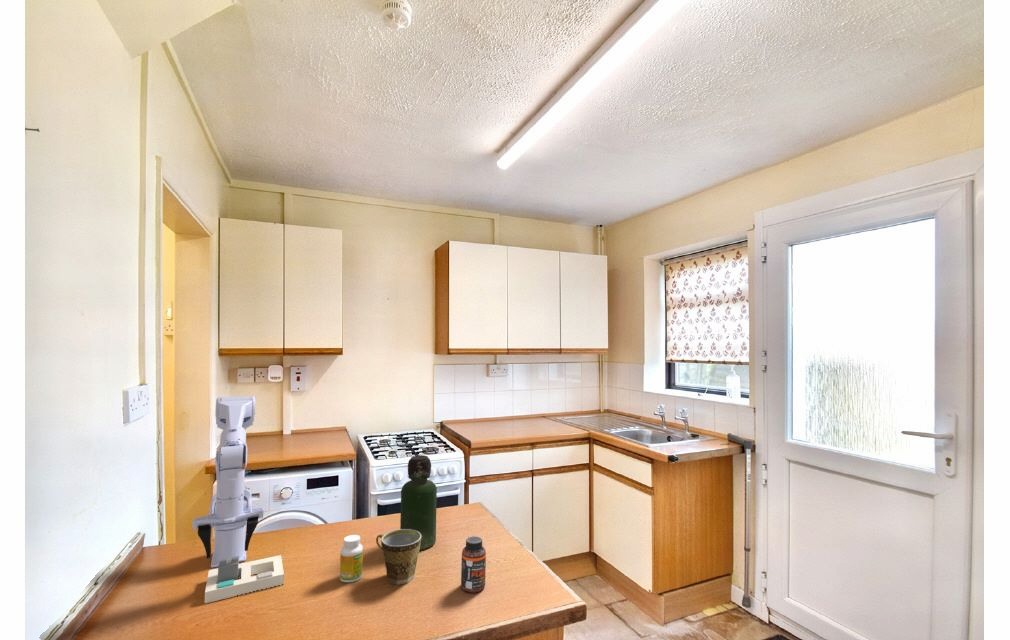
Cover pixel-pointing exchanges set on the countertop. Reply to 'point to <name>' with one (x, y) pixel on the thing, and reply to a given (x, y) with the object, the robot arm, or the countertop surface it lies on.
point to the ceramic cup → (400, 554)
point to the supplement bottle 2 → (473, 565)
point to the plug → (228, 569)
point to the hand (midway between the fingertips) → (227, 552)
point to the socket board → (246, 579)
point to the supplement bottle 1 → (351, 559)
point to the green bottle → (419, 501)
